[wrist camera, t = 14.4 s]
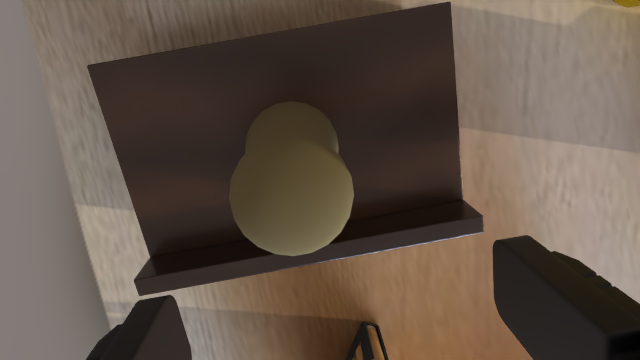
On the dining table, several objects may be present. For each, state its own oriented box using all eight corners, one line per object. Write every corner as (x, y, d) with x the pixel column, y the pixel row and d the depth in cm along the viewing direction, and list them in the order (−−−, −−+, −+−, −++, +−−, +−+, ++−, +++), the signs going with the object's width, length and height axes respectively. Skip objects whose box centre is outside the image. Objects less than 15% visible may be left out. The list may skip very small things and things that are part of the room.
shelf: (146, 64, 33) (57, 65, 20) (405, 18, 33) (472, -8, 21) (190, 217, 37) (138, 296, 25) (420, 175, 37) (484, 232, 25)
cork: (338, 191, 27) (368, 276, 16) (247, 194, 26) (217, 282, 16) (339, 100, 25) (373, 129, 14) (242, 101, 25) (204, 131, 14)
